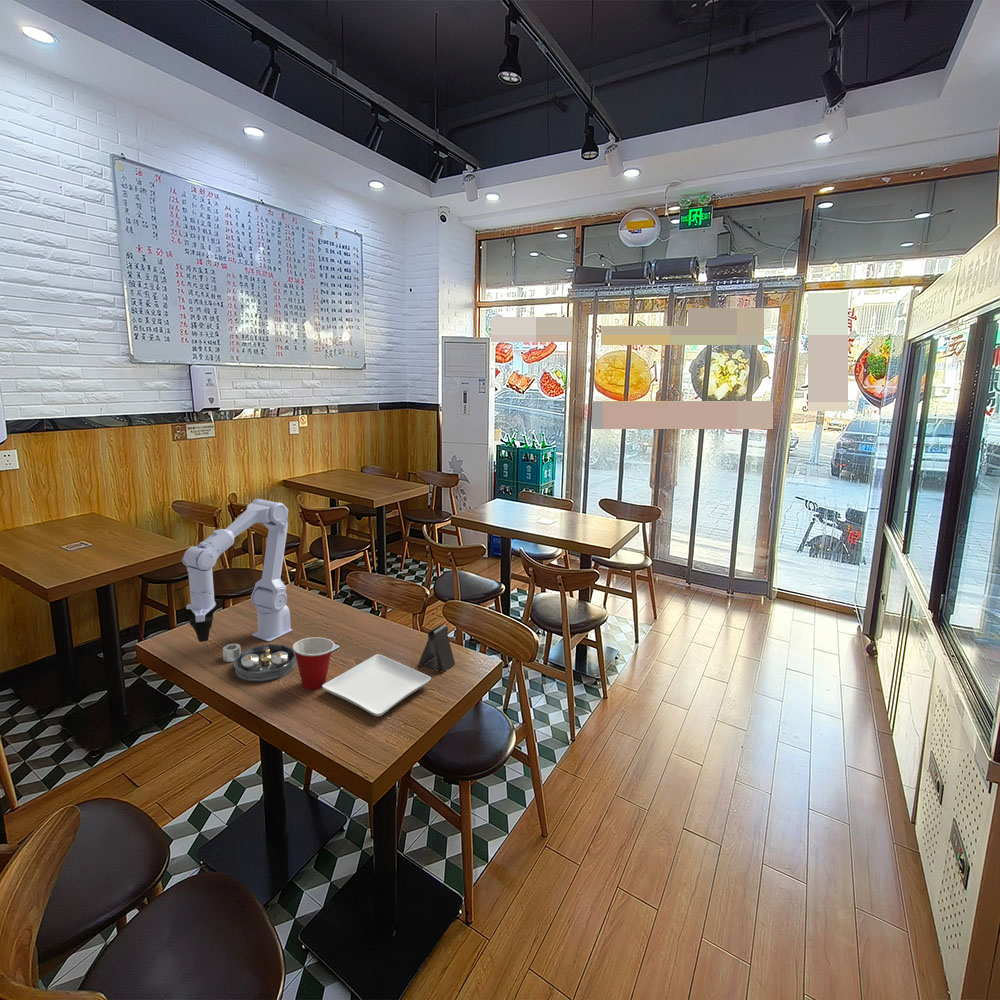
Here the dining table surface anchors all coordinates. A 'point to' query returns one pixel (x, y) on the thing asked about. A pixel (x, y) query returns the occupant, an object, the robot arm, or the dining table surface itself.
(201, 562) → the robot arm
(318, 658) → the plastic cup
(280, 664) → the carrier
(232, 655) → the octagonal tube
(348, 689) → the salad plate
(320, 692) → the dining table surface
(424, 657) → the phone stand
